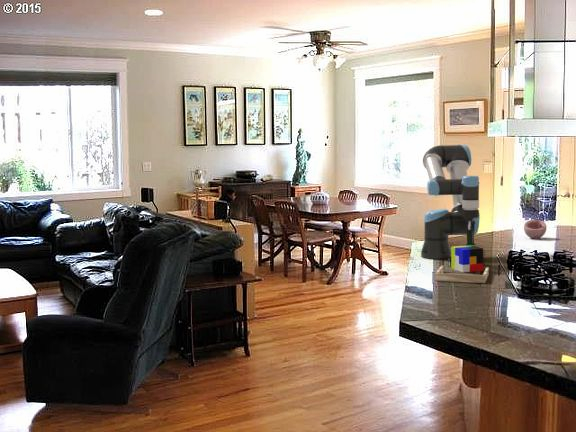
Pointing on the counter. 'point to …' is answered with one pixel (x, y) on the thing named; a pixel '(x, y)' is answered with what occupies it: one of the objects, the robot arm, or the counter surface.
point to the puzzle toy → (467, 258)
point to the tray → (461, 276)
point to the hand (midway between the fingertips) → (470, 259)
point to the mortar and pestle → (535, 228)
